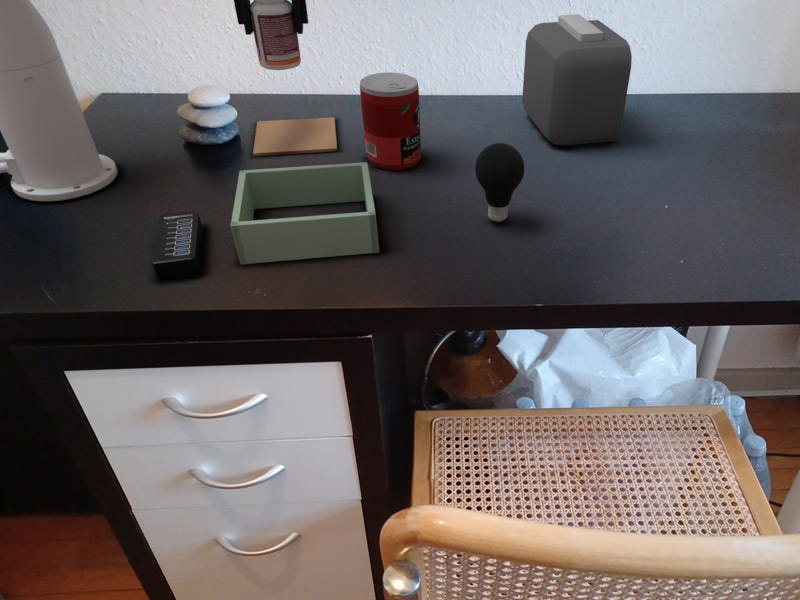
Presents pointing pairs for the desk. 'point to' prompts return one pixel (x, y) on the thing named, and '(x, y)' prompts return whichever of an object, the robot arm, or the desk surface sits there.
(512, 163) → the light bulb
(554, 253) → the desk surface
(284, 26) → the pill bottle
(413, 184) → the desk surface
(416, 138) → the canned food
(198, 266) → the multiport hub
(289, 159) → the desk surface
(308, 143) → the coaster
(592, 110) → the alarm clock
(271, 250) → the open box
